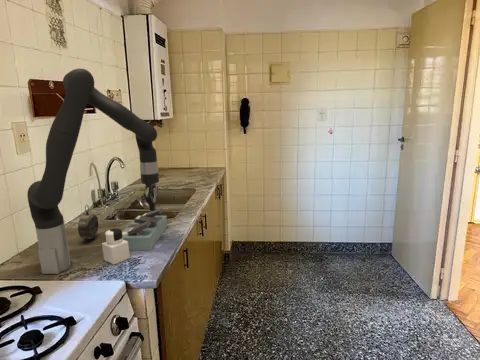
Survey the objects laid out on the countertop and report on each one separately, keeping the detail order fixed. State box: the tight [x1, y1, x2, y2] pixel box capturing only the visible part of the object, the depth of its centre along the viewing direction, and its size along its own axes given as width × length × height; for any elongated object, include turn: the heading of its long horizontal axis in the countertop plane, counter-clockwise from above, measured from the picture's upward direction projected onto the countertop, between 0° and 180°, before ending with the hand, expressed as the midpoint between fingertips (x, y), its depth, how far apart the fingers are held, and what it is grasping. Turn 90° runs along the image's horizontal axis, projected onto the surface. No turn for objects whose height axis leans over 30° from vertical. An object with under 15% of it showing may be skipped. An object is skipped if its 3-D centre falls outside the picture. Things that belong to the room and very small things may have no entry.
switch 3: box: [127, 220, 151, 236], centre depth 144 cm, size 5×9×2 cm, turn 87°
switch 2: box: [133, 215, 158, 226], centre depth 153 cm, size 5×9×2 cm, turn 87°
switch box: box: [122, 215, 168, 251], centre depth 154 cm, size 27×14×7 cm, turn 177°
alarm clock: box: [77, 204, 99, 244], centre depth 153 cm, size 11×5×16 cm, turn 177°
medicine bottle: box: [101, 228, 131, 265], centre depth 133 cm, size 7×7×12 cm
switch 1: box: [142, 207, 164, 217], centre depth 162 cm, size 5×9×2 cm, turn 87°
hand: (152, 210), depth 152 cm, fingers closed
